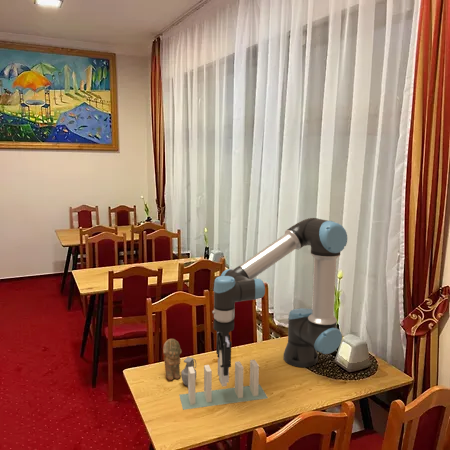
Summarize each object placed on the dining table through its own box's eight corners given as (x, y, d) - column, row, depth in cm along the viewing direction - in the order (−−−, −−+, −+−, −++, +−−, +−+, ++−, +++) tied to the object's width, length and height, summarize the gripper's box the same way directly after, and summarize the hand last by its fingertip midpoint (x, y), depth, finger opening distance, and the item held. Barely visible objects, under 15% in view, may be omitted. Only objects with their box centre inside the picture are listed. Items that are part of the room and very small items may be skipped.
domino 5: (254, 388, 164) (254, 359, 162) (258, 395, 159) (258, 365, 157) (249, 389, 163) (250, 360, 162) (253, 396, 159) (254, 366, 157)
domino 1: (193, 396, 158) (192, 366, 156) (195, 403, 153) (195, 373, 152) (188, 397, 158) (188, 367, 156) (190, 404, 153) (190, 373, 151)
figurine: (169, 383, 168) (168, 348, 166) (160, 375, 175) (159, 340, 173) (187, 378, 173) (187, 343, 170) (178, 369, 180) (178, 336, 177)
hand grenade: (192, 390, 163) (191, 364, 162) (178, 387, 166) (178, 361, 164) (199, 382, 169) (199, 356, 168) (186, 379, 171) (186, 354, 170)
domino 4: (239, 390, 162) (239, 361, 161) (242, 397, 158) (243, 367, 156) (234, 391, 162) (235, 361, 160) (238, 398, 157) (238, 368, 155)
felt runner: (259, 385, 167) (259, 384, 167) (268, 399, 158) (268, 398, 157) (179, 396, 159) (179, 394, 159) (183, 411, 150) (183, 409, 150)
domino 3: (223, 379, 160) (224, 349, 158) (226, 386, 155) (227, 355, 154) (218, 379, 160) (219, 349, 158) (222, 386, 155) (222, 355, 153)
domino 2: (208, 394, 160) (208, 364, 158) (211, 401, 155) (211, 371, 153) (204, 395, 159) (204, 365, 157) (206, 402, 154) (206, 371, 153)
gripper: (208, 311, 162) (208, 368, 165) (219, 329, 144) (218, 392, 148) (227, 309, 163) (226, 366, 167) (240, 327, 146) (239, 390, 150)
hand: (223, 378), depth 157 cm, fingers closed on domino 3, 5 cm apart
